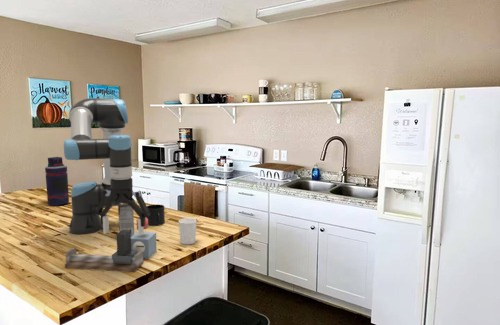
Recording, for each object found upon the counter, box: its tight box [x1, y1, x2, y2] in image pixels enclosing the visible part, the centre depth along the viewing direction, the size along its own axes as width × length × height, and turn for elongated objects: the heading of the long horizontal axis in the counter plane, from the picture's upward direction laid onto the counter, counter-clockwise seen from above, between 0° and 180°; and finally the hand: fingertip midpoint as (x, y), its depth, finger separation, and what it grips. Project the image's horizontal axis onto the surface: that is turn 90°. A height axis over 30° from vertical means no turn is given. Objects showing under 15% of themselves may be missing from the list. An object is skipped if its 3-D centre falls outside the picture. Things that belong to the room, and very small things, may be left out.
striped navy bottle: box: [44, 156, 70, 207], centre depth 216 cm, size 14×12×30 cm
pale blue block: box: [131, 231, 157, 260], centre depth 140 cm, size 8×9×8 cm
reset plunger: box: [136, 218, 149, 230], centre depth 139 cm, size 4×4×4 cm
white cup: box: [178, 217, 198, 245], centre depth 154 cm, size 8×8×10 cm
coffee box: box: [117, 203, 135, 237], centre depth 161 cm, size 9×6×16 cm
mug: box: [146, 203, 166, 227], centre depth 180 cm, size 9×12×9 cm
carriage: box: [111, 230, 137, 264], centre depth 128 cm, size 7×6×12 cm
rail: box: [64, 246, 144, 273], centre depth 130 cm, size 28×8×6 cm, turn 84°
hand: (123, 233), depth 128 cm, fingers open, 13 cm apart
